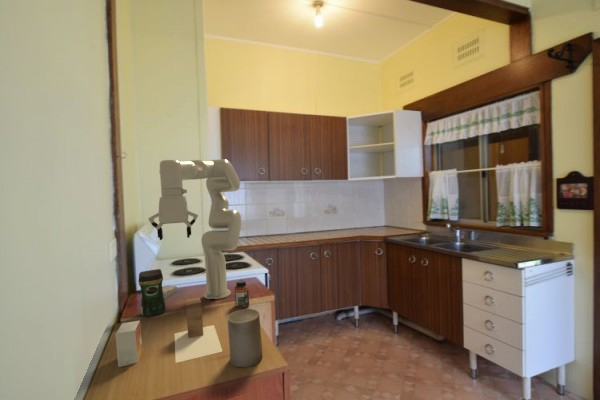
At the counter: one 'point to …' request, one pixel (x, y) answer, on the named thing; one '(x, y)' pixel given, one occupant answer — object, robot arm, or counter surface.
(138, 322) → the small box
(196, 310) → the walnut block
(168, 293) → the stone block
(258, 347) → the pillar candle
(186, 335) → the cream mat
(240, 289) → the supplement bottle
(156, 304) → the coffee jar
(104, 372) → the counter surface
